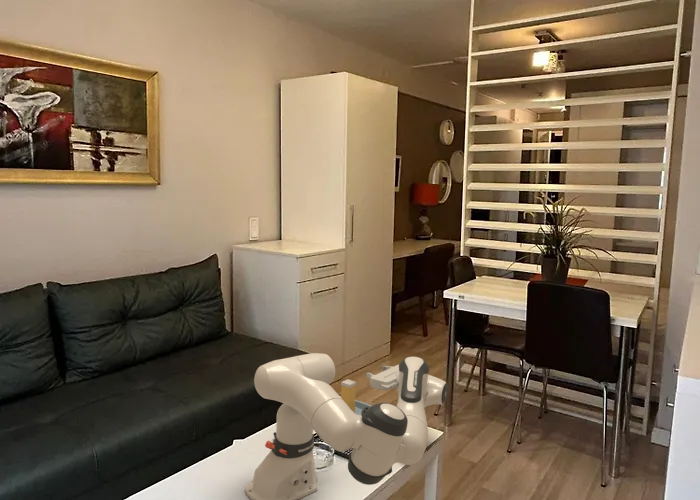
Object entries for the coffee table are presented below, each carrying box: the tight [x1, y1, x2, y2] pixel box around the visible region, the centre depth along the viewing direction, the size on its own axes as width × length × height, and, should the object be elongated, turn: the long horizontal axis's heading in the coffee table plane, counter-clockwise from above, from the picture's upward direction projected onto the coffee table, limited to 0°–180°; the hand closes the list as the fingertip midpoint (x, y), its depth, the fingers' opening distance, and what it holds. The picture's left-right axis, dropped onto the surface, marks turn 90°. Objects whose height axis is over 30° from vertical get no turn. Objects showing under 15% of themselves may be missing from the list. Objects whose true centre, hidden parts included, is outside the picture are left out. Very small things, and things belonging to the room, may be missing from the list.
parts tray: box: [355, 399, 372, 416], centre depth 203 cm, size 16×16×4 cm
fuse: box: [340, 378, 357, 413], centre depth 203 cm, size 4×4×13 cm
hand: (374, 371), depth 194 cm, fingers open, 8 cm apart
